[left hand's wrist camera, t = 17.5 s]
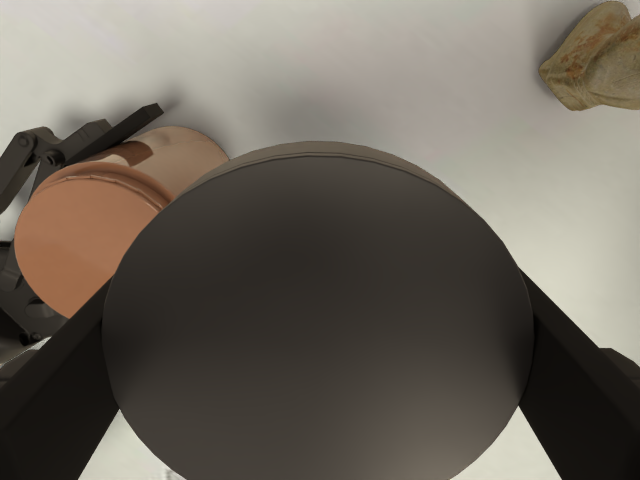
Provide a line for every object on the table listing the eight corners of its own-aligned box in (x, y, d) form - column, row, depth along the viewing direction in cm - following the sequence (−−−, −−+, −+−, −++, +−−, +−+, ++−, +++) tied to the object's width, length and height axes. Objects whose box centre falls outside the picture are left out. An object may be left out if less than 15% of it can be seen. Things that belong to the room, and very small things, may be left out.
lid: (219, 57, 10) (197, 55, 8) (583, 255, 12) (630, 289, 10) (85, 388, 13) (50, 438, 12) (382, 501, 15) (390, 559, 13)
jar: (255, 218, 38) (222, 308, 24) (154, 251, 39) (68, 357, 25) (208, 108, 34) (138, 141, 20) (99, 149, 35) (-38, 206, 22)
